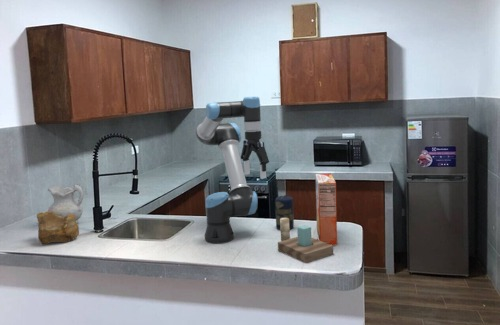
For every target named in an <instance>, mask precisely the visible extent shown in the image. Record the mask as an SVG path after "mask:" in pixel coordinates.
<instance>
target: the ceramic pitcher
mask: <svg viewBox="0 0 500 325" xmlns="http://www.w3.org/2000/svg"><path fill="white" fill-rule="evenodd" d="M47 191H48V192H49V193H50V194H51V196H52V199H53V203H52V204H51V205H50V206H49V207H48V209H47V211H53V212H54V213H55V214H56V215H58V216H61V217H65V216H67V215H68V214H74V215H75V219H76V223H77V224H78V225H79V222H78V220H79V219H80V218H81V217H82V216H83V208H84V207H83V205H82V203H83V199H84V191H83V189H82V187H81V185H80V184H73V188H72V187H69V186H67V187H63V185H61V184H59V185H58V184H53V185H52V186H51V187H49V188H48V189H47ZM76 191H77V192H78V193H79V196H78V200H76V199H75V193H76Z"/></svg>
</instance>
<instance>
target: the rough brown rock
mask: <svg viewBox="0 0 500 325" xmlns="http://www.w3.org/2000/svg"><path fill="white" fill-rule="evenodd" d="M36 219H37V222H38V225H37V226H38V232H37V234H38V235H37V236H38V239H39V241H40V244H41V245H47V244H49V243H54V242H56V243H58V242H59V243H69V242H70V241H73V240H75V239H76V238H77V237H78V236H79V234H80V229H79V223H78V222H77V221H76V219H75V215H74V214H68V215H67V216H65V217H61V216H58V215H56V214H55V213H54V212H53V211H48V210H47V211H45V212H39V213H37V214H36ZM76 222H77V223H78V224H77V223H76Z"/></svg>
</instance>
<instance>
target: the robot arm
mask: <svg viewBox="0 0 500 325" xmlns="http://www.w3.org/2000/svg"><path fill="white" fill-rule="evenodd" d="M205 115H206V116H205V117H204V119H203V121H202V122H201V123H200V124H198V126H197V128H196V129H195V136H196V138H197V139H198V141H199V142H200V143H202V144H203V145H205V146H217V147H218V149H219V151H221V152H222V157H223V160H224V165H225V168H226V169H225V170H226V173H227V176H228V181H229V182H228V183H229V185H230V191H229V192H227V191H220V192H219V191H217V192H214V193H211V194H208V195H207V197H206V198H205V213H206V227H205V232H204V241H205V242H207V243H209V244H224V243H228V242H231V241H233V240H234V239H235V233H234V229H233V227H232V225H231V218H235V217H243V216H250V215H253V214H255V213H256V212H257V210H258V202H259V201H258V199H259V198H258V193H257V192H256V191H254V190H253V191H252V188H251V187H250V186H249V185H248V184H247V179H246V175H250V174H251V167H250V166H251V165H250V156H251V155H252V153H253V152H254V153H255V154H256V157H257V158H258V160H259V175H260V178H259V179H260V180H263V179H267V164H269V163H270V160H269V157H268V156H269V155H268V153H267V150H266V146H265V141H261V142H260V140H261V139H262V131H261V130H262V122H261V118H262V117H261V101H260V96H244V97H243V99H242V100H240V101H239V100H238V101H237V100H236V101H220V102H216V101H214V102H209V103H207V104H206V106H205ZM231 118H233V119H235V118H243V119H244V120H243V125H244V131H245V132H244V139H245V140H243V141H242V144H243V145H242V148H241V149H242V150H241V153H240V152H239V149H238V147H239V145H240V143H241V140H242V136H241V129H240V127H239V126H238V125H237V123H234V122H226V123H225V122H223V123H221V122H222V121H223V120H224V119H231ZM242 161H243V165H242Z"/></svg>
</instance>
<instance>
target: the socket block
mask: <svg viewBox="0 0 500 325" xmlns="http://www.w3.org/2000/svg"><path fill="white" fill-rule="evenodd" d="M311 239H312V245H310V246H306V247H302V246H300V245H298V236H296V237H295V236H294V237H292V238H291V237H290V239H288V240H284V241H281V240H280V241H278V242H277V251H279V252H280V253H283V254H285V255H287V256H290V257H292V258H294V259H295V260H298V261H300V262H302V263H304V264H307V263H310V262H313V261H317V260H319V259H323V258H325V257H328V256H329V257H330V256H333V255H334V245H330V244H327V243H325V242H322V241H319V239H316V238H315V237H311Z"/></svg>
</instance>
